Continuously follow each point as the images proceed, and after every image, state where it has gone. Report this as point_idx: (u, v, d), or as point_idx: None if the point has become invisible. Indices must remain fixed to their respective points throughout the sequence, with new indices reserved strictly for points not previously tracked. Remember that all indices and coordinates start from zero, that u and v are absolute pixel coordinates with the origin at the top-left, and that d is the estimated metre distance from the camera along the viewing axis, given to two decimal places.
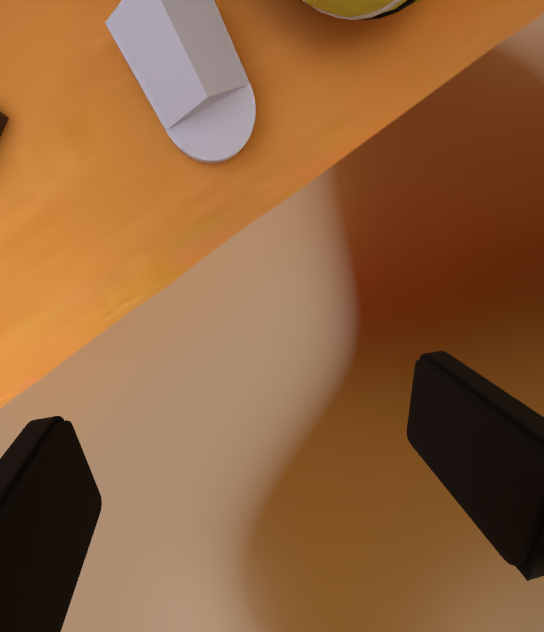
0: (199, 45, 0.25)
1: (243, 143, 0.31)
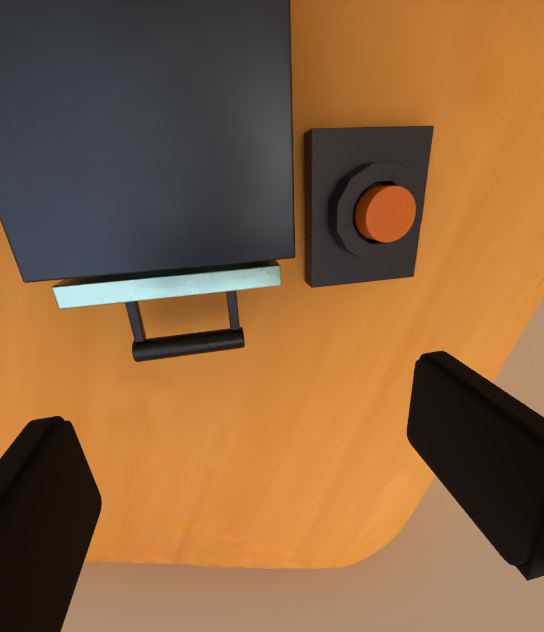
0: None
1: None
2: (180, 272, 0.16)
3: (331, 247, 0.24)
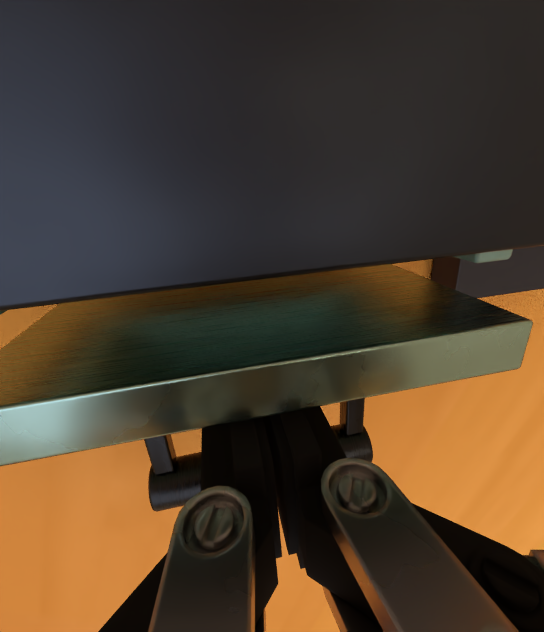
0: None
1: None
2: (281, 349, 0.06)
3: None
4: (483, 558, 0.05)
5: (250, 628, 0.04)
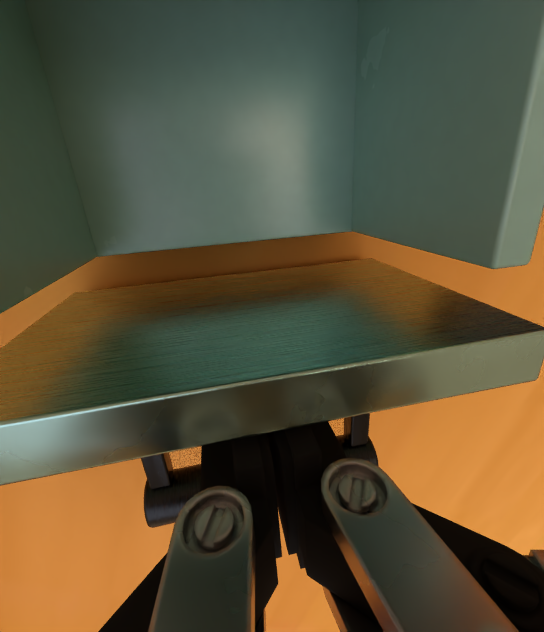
0: None
1: None
2: (285, 362, 0.06)
3: None
4: (483, 558, 0.05)
5: (250, 627, 0.04)
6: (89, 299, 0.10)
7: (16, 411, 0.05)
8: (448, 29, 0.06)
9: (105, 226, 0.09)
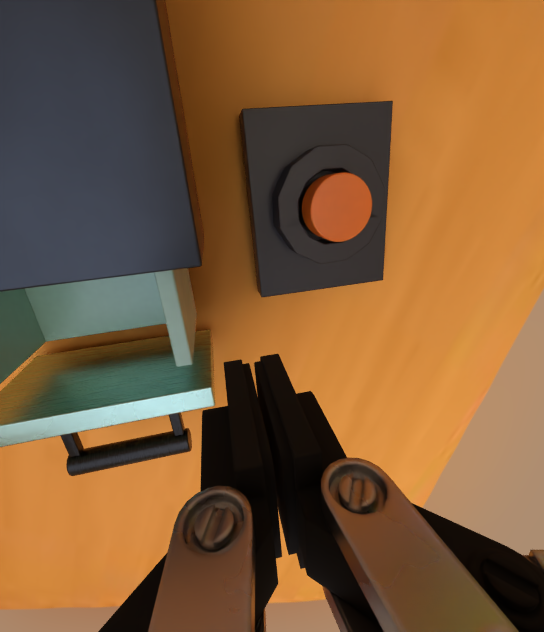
0: None
1: None
2: (101, 402, 0.15)
3: (281, 249, 0.20)
4: (483, 558, 0.05)
5: (250, 628, 0.04)
6: (43, 362, 0.19)
7: (1, 422, 0.14)
8: None
9: (48, 327, 0.19)
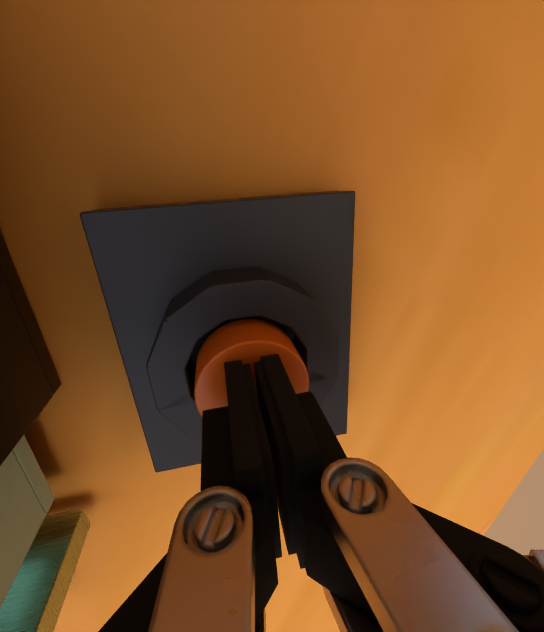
0: None
1: None
2: None
3: None
4: (483, 558, 0.05)
5: (250, 628, 0.04)
6: None
7: None
8: None
9: None
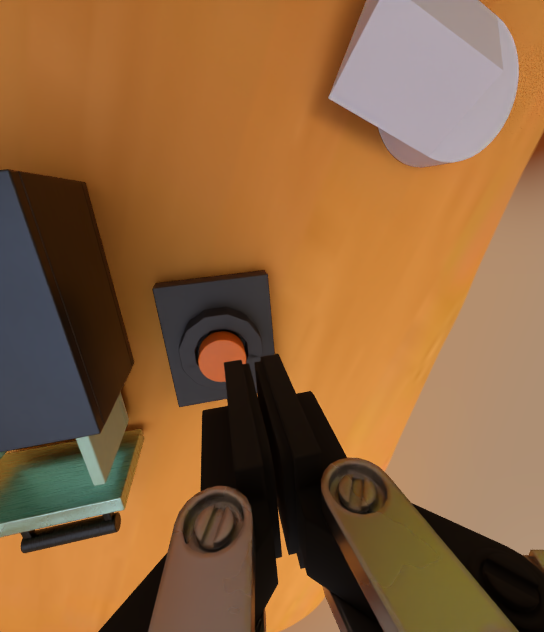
0: (458, 19, 0.18)
1: (513, 95, 0.22)
2: (40, 510, 0.21)
3: None
4: (483, 559, 0.05)
5: (250, 628, 0.04)
6: (7, 462, 0.26)
7: None
8: None
9: None
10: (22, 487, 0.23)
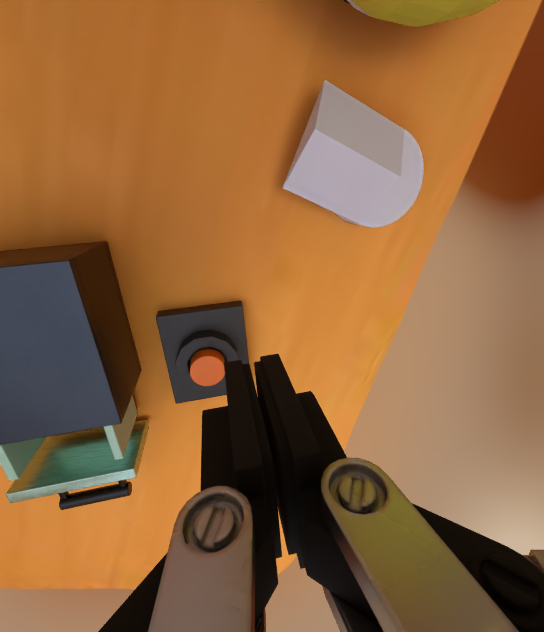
0: (369, 142, 0.26)
1: (421, 180, 0.30)
2: (77, 476, 0.30)
3: None
4: (484, 558, 0.05)
5: (250, 628, 0.04)
6: (46, 443, 0.34)
7: (27, 488, 0.29)
8: None
9: None
10: (61, 461, 0.32)
